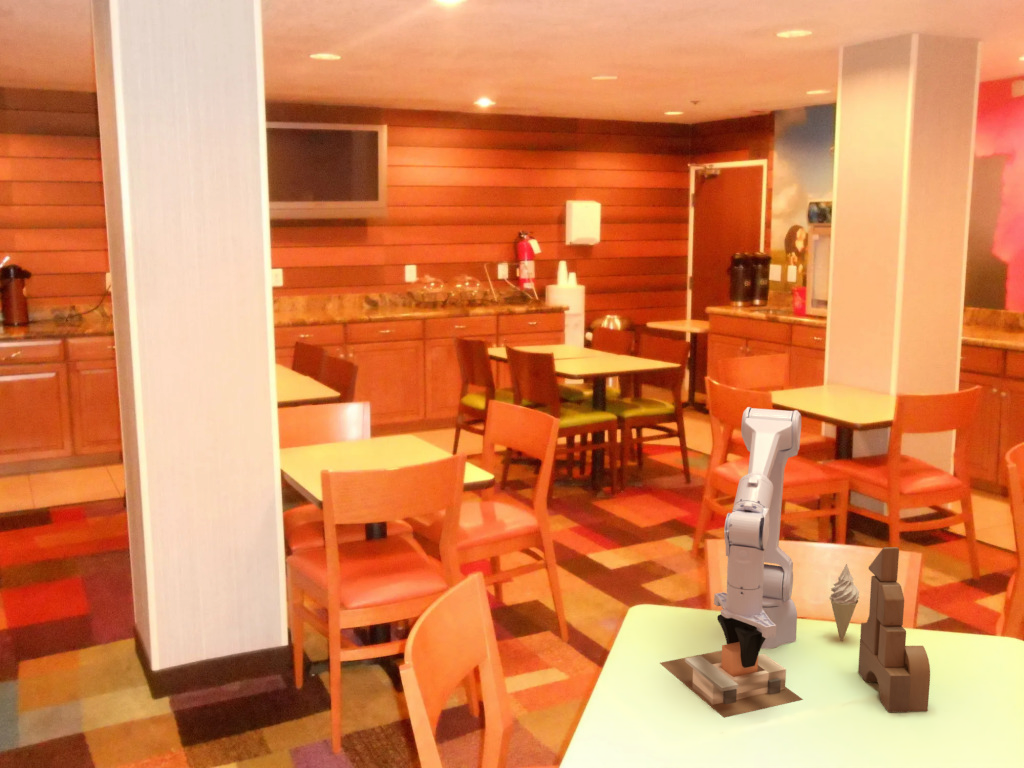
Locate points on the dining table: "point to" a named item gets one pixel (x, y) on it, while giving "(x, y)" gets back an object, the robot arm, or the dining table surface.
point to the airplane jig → (733, 683)
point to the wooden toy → (892, 642)
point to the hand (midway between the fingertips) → (742, 661)
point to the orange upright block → (735, 661)
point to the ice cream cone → (844, 601)
